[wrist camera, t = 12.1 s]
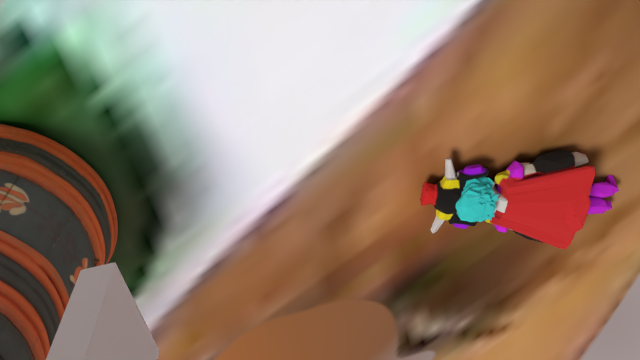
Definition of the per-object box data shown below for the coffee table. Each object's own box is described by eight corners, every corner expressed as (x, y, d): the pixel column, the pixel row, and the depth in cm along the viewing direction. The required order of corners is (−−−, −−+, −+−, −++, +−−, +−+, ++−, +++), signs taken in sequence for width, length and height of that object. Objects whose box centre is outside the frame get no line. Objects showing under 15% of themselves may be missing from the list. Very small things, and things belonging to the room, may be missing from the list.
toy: (623, 145, 45) (426, 137, 43) (653, 171, 41) (440, 163, 39) (591, 230, 48) (408, 226, 47) (616, 260, 45) (420, 257, 43)
